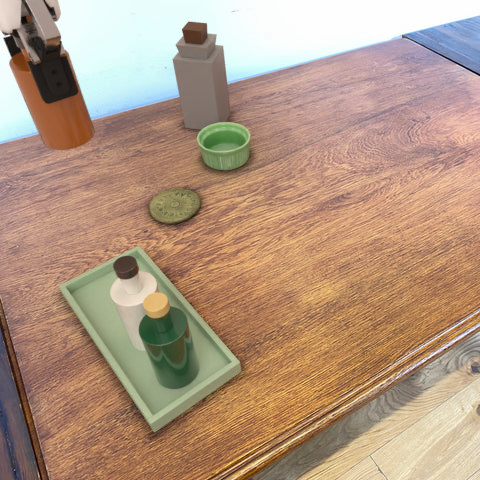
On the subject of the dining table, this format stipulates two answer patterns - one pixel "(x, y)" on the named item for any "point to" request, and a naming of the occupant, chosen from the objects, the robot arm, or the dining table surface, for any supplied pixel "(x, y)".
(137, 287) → the frosted bottle
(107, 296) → the tray
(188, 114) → the perfume bottle
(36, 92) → the amber bottle
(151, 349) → the green glass bottle
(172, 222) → the medallion
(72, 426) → the dining table surface
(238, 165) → the ramekin
